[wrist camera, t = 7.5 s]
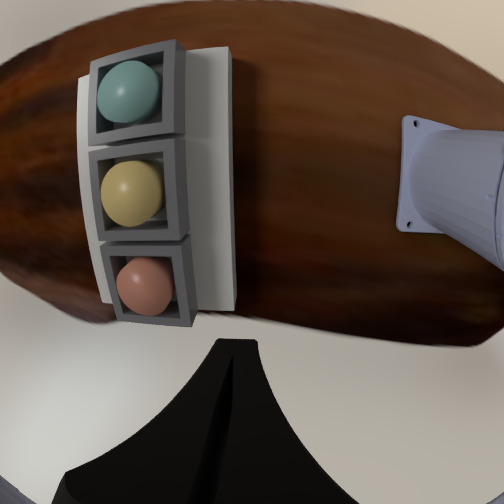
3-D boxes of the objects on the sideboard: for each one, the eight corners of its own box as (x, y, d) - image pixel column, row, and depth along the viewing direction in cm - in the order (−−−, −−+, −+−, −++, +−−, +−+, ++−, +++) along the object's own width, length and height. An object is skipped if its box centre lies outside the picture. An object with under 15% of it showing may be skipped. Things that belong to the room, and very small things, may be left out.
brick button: (175, 251, 16) (164, 264, 14) (181, 301, 17) (173, 317, 15) (125, 251, 16) (111, 263, 14) (134, 298, 17) (123, 313, 15)
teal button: (167, 64, 12) (155, 54, 10) (166, 119, 13) (153, 116, 11) (115, 76, 12) (98, 69, 10) (113, 128, 13) (96, 127, 11)
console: (231, 57, 14) (223, 33, 10) (236, 295, 19) (230, 329, 16) (94, 82, 14) (61, 73, 10) (114, 289, 20) (89, 316, 16)
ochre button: (167, 156, 14) (154, 158, 12) (171, 216, 15) (160, 225, 13) (115, 163, 14) (98, 165, 12) (120, 218, 15) (104, 227, 13)
